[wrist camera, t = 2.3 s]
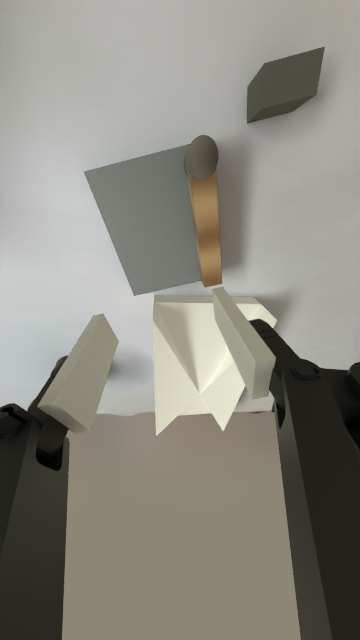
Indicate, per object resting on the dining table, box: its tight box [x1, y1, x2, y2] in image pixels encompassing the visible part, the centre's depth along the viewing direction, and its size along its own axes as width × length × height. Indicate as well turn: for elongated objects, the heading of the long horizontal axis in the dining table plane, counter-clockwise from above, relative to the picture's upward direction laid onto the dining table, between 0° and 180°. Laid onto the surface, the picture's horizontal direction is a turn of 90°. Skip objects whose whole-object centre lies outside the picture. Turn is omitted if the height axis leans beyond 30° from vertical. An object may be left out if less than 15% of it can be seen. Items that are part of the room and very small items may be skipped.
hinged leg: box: [184, 135, 222, 287], centre depth 24 cm, size 18×4×3 cm, turn 11°
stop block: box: [247, 47, 324, 123], centre depth 19 cm, size 3×6×4 cm, turn 101°
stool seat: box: [84, 144, 201, 296], centre depth 27 cm, size 18×16×2 cm
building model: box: [153, 295, 277, 435], centre depth 45 cm, size 45×22×10 cm, turn 176°
